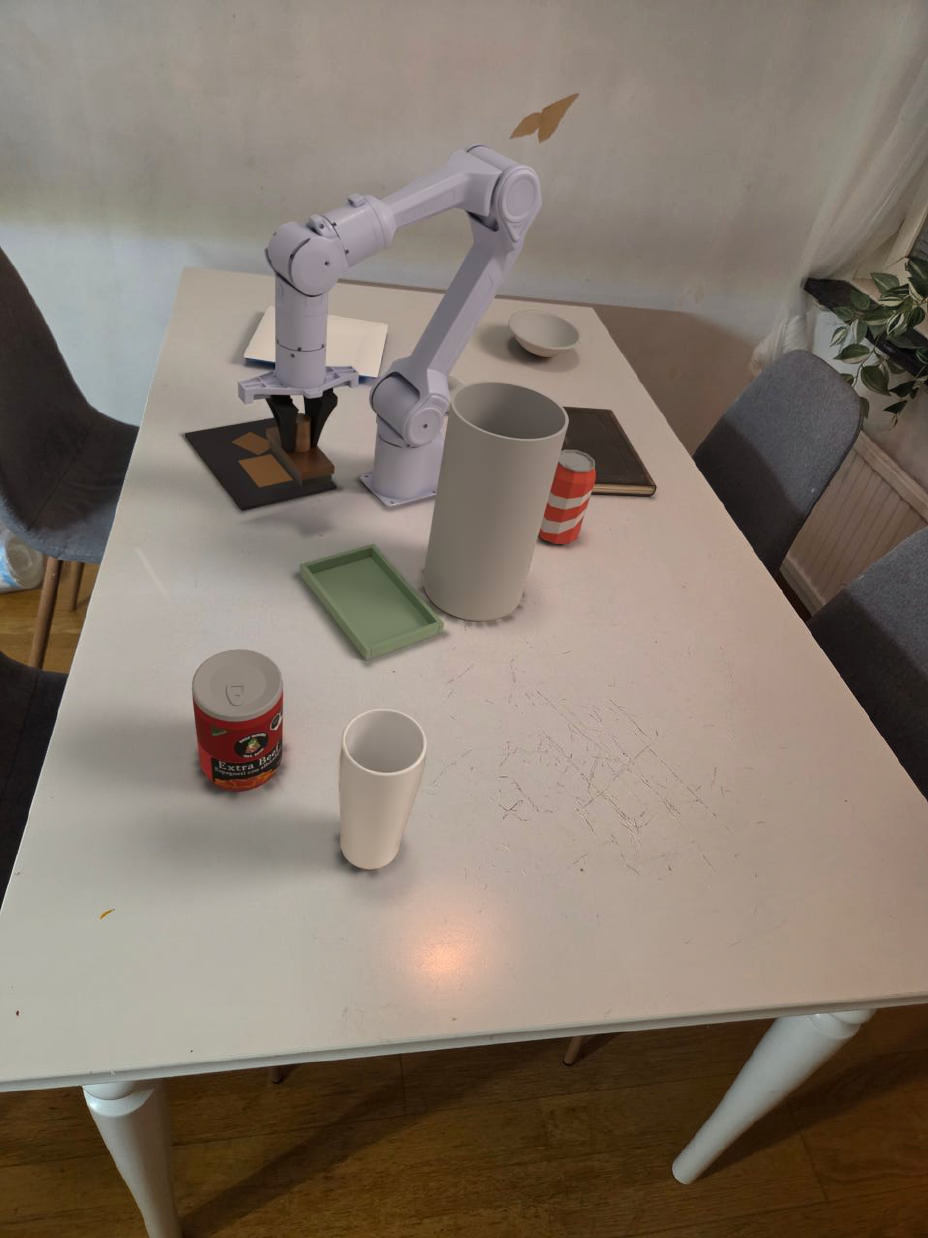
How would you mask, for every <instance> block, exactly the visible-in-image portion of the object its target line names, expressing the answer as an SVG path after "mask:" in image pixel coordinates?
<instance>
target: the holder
mask: <svg viewBox="0 0 928 1238" xmlns="http://www.w3.org/2000/svg"><path fill="white" fill-rule="evenodd" d="M299 576H300V577H301V578H302V580H303V581H304V582H305V583H306V585H307V586H308V588H309V589H310V590H311V591H312V592H313V594H314V595H315V597H316V598H317V599H318V601H319V602H320V603H321V604H322V606H323V607H324V609H325V610H326V611H327V612H328V614H329V615H330V616H331V617H332V619H333V620H334V621H335V623H336V624H337V625H338V626H339V628H340V629H341V631H342V632H343V633H344V635H346V637H347V638H348V640H349V641H350V642H351V643H352V645H353V646H354V647H355V648H356V650H357V652H359V654H360V655H361V657H362V658H363V659H364V660H365V661H368V660H371V659H375V658H377V657H380V656H384V655H385V654H388V653H391V652H393V651H396V650H399V649H401V648H404V647H407V646H410V645H412V644H416V643H418V642H421V641H425V640H427V639H429V638H433V637H435V636H438V635H440V634H442V633H443V630H444V625H445V623H444V621H443V620H442V619H441V618H440V617H439V615H437V614H436V612H435V611H434V610H433V609H432V608H431V606H429V605H428V604H427V602H426V601H425V600H424V599H423V598H422V596H421V595H419V593H418V592H417V591H416V590H415V588H414V587H412V586H411V584H410V583H409V582H408V581H407V580H406V578H405V577H403V575H402V574H401V573H400V572H399V571H398V569H396V568H395V566H394V565H393V564H392V563H391V562H390V560H389V559H388V558H387V557H386V556H385V555H384V554H383V552H382V551H381V550H380V549H379V548H378V547H377V546H376V545H375V543H371V544H368V545H364V546H361V547H357V548H353V549H350V550H346V551H343V552H339V553H335V554H331V555H329V556H324V557H321V558H318V559H314V560H310V561H307V562H304V563H299Z"/></svg>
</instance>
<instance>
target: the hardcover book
mask: <svg viewBox="0 0 928 1238" xmlns="http://www.w3.org/2000/svg"><path fill="white" fill-rule="evenodd" d="M561 406H562V405H561ZM562 407H563V408H564V409H565V411H566V413H567V415H568V418H569V423H568V427H567V431H566V434H565V438H564V442H563V445H562V449H561V451H563V450H577V451H580V452H583V453H586V454H588V455H589V456H590V457H591V458H592V459H593V460H594V461H595V471H596V479H595V483H594V486H593V489H592V492H591V495H595V496H596V495H599V496H620V497H621V496H623V497H649V498H650V497H653V496H654V495H655V493H656V491H657V488H658V486H657V484H656V482H655V481H654V479H653V478H652V476H651V474H650V473H649V470H648V469H647V466H645V463H644V462H643V461H642V459H641V457H640V455H639V453H638V452H637V450H636V449H635V447H634V445H633V444H632V442H631V440H630V438H629V437H628V434H627V433H626V432H625V430H624V428H623V425H621V423H620V422H619V420H618V418H617V416H616V414H615V413H614V411H613V410H612V409H609V408H608V409H607V408H594V407H593V408H591V407H577V406H576V407H575V406H562Z"/></svg>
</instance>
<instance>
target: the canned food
mask: <svg viewBox="0 0 928 1238" xmlns="http://www.w3.org/2000/svg"><path fill="white" fill-rule="evenodd" d="M191 695H192V696H191V699H192V707H193V714H194V723H195V725H194V726H195V735H196V743H197V749H198V750H197V751H198V758H199V765H200V768H201V770H202V772H203V773H204V774H205V776H206V778H207V779H208V780H209V781H210V782H211V783H212V784H213V785H215V786H217V788H220V789H223V790H227V791H229V792H230V791H231V792H245V791H251V790H254V789H257V788H259V787H261V786H263V785H264V784H266V783H267V782H268V781H270V780H271V779H272V777H274V775H275V774H276V772H277V771H278V768H279V767H280V764H281V762H282V759H283V742H284V741H283V739H284V738H283V737H284V735H283V733H284V726H283V725H284V682H283V676H282V672H281V669H280V668H279V666H278V665H277V664H276V662H275V661H274V660H273V659H271V658H270V657H269V656H267V655H265V654H263V653H262V652H258V651H255V650H251V649H240V648H239V649H237V648H236V649H228V650H225V651H220V652H218V653H216V654H213V655H211V656H210V657H208V658H207V659H205V660H204V661H203V662H202V663H201V664H200V665H199V666H198V668H197V669H196V671H195V672H194V674H193V676H192V681H191Z"/></svg>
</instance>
